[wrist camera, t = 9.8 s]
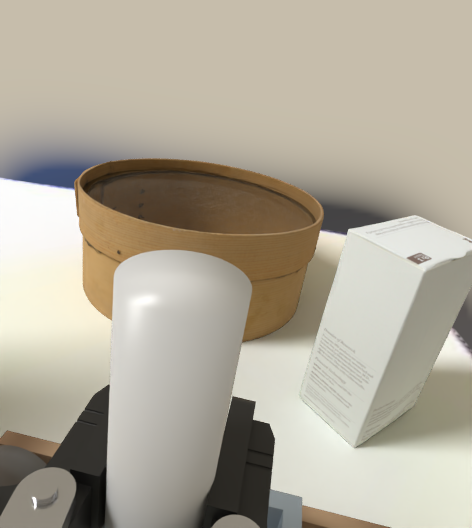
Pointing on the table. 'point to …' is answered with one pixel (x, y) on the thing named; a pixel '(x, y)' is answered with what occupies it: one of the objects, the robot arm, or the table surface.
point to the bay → (41, 451)
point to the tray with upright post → (174, 388)
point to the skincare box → (385, 323)
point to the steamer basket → (199, 228)
